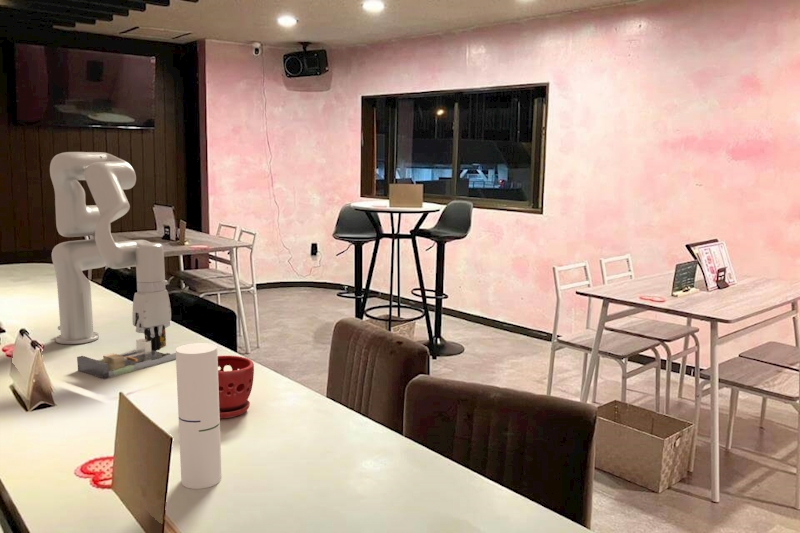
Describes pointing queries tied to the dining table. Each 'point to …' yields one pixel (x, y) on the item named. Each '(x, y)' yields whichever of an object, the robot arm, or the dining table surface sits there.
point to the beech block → (114, 361)
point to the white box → (140, 352)
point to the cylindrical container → (198, 415)
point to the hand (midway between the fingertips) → (154, 349)
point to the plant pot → (234, 385)
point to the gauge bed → (102, 370)
